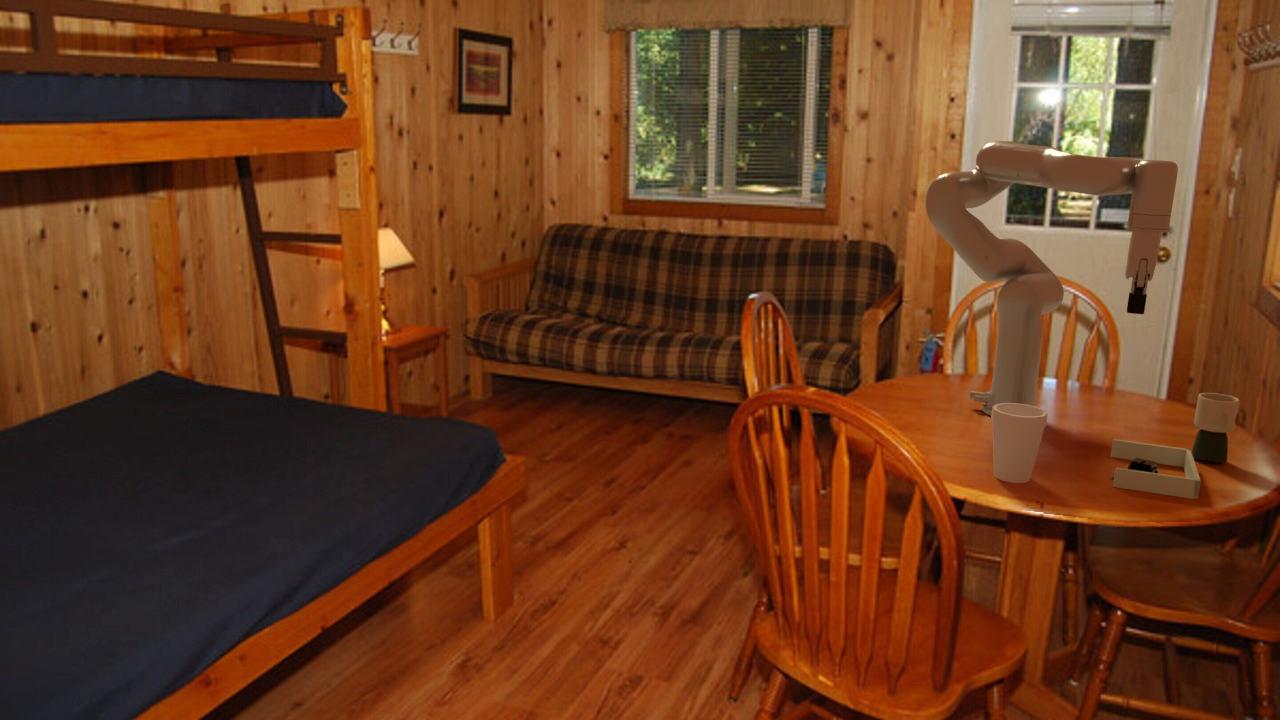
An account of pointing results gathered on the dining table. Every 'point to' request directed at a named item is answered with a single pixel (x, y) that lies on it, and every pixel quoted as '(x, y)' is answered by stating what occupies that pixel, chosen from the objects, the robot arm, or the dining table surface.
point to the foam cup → (1016, 440)
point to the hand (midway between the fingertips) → (1135, 312)
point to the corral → (1155, 481)
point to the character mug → (1214, 425)
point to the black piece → (1142, 466)
